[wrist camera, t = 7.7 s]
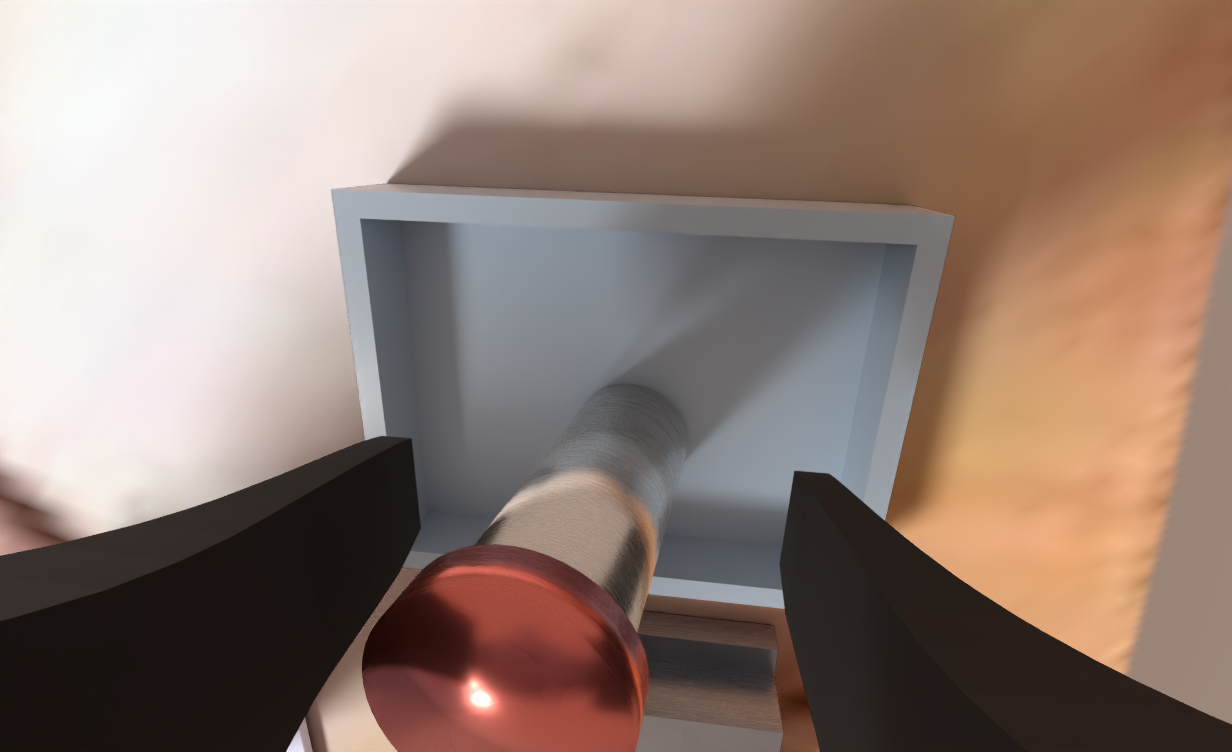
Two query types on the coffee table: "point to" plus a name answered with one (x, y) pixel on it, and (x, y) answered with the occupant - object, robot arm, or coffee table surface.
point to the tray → (640, 349)
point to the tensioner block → (709, 685)
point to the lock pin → (540, 600)
